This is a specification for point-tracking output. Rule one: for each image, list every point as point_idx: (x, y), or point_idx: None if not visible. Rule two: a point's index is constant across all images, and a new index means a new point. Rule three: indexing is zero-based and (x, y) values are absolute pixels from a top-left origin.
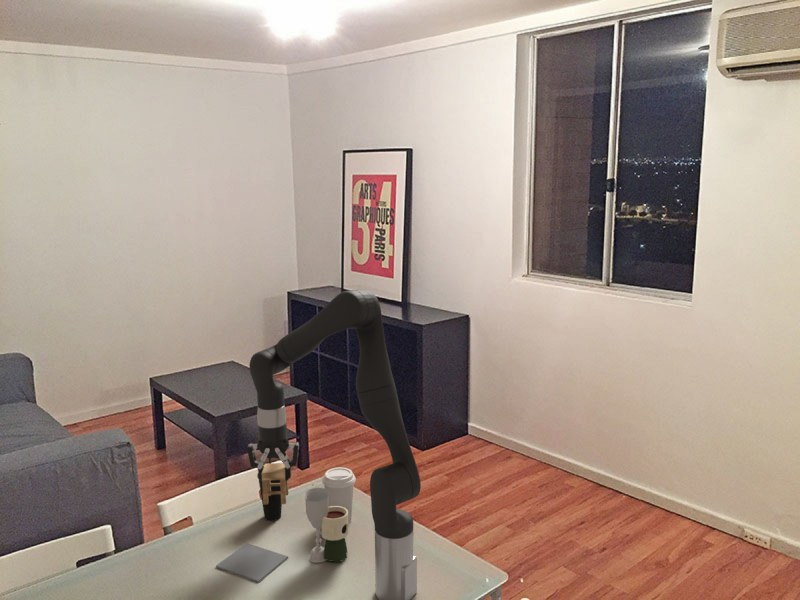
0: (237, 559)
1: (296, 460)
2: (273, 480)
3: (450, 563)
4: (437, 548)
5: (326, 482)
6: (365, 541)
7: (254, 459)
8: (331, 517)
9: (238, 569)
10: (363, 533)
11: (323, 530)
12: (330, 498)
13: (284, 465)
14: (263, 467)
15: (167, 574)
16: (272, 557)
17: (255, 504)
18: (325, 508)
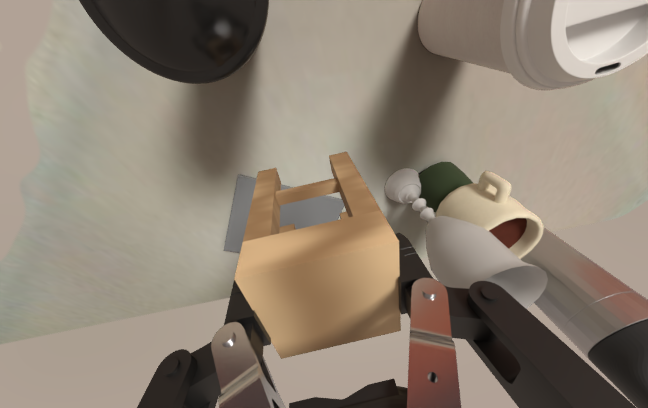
0: None
1: (512, 355)
2: (237, 69)
3: (628, 158)
4: (635, 114)
5: (527, 70)
6: (500, 113)
7: (176, 398)
8: None
9: None
10: (503, 77)
11: None
12: (485, 65)
13: (386, 272)
14: (260, 329)
15: (153, 277)
16: (316, 210)
17: None
18: (495, 276)
